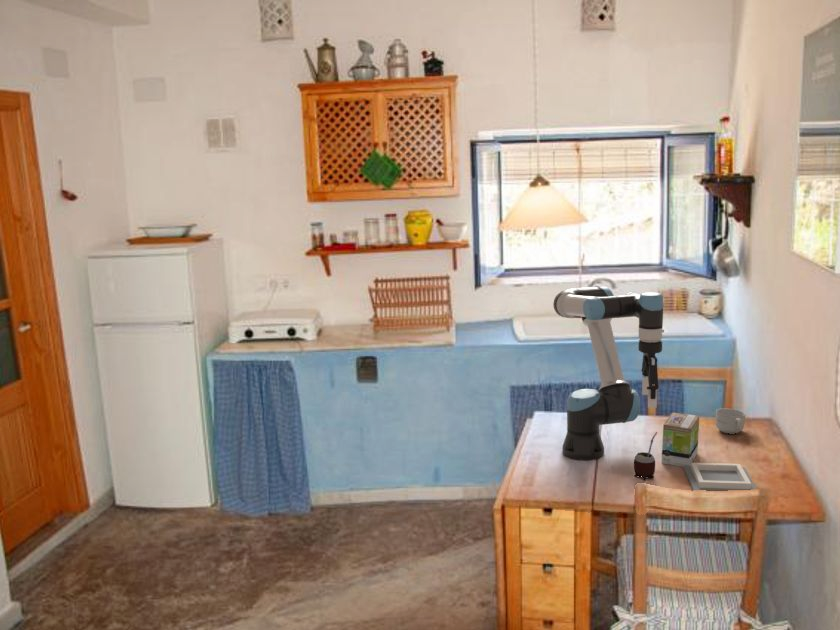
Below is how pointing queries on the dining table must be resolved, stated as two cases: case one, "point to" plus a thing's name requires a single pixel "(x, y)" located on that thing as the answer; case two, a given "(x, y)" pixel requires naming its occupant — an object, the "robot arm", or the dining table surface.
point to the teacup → (730, 420)
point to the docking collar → (718, 477)
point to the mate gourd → (645, 463)
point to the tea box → (680, 439)
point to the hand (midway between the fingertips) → (649, 401)
